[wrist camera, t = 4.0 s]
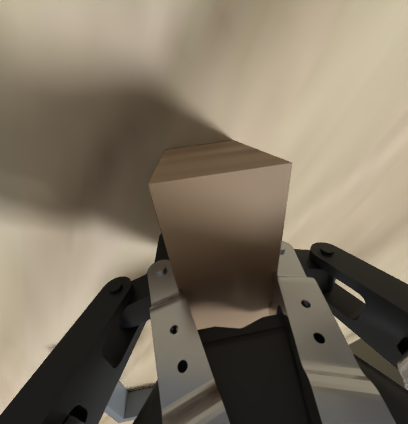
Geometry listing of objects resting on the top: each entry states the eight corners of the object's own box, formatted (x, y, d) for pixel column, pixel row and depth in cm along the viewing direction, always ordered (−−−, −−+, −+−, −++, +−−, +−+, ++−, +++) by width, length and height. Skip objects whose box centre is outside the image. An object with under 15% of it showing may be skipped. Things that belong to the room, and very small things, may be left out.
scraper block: (164, 149, 10) (147, 184, 5) (233, 140, 10) (292, 163, 5) (187, 254, 14) (191, 338, 8) (236, 246, 14) (270, 322, 9)
